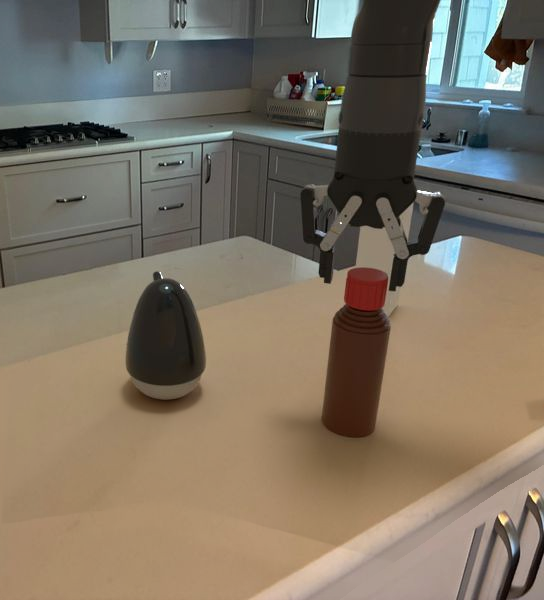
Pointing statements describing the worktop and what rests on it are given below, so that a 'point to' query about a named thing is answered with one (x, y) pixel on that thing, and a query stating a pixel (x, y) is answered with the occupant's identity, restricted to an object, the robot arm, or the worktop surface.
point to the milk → (381, 254)
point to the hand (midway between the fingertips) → (359, 284)
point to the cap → (366, 288)
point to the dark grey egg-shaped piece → (165, 341)
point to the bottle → (355, 370)
